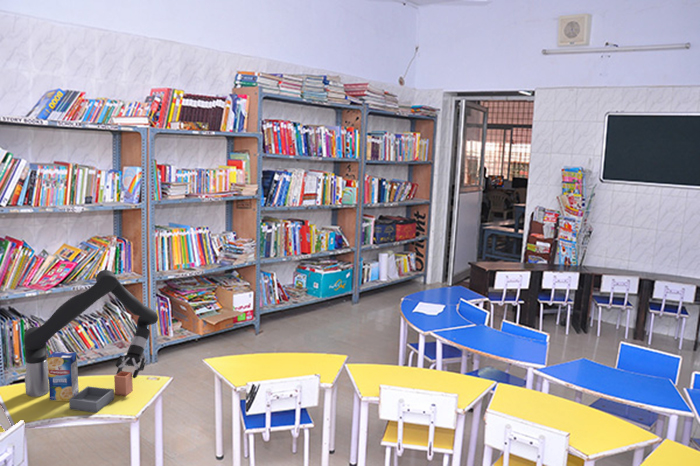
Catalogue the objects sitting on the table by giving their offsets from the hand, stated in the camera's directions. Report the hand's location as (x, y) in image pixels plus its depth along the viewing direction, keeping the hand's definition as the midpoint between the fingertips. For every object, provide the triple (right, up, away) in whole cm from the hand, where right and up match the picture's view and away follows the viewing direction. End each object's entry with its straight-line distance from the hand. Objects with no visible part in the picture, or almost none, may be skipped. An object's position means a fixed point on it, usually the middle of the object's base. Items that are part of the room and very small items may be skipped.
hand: (125, 376), depth 285 cm
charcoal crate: (-11, -10, -13) cm, 20 cm away
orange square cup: (-1, -8, -1) cm, 8 cm away
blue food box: (-27, -8, -8) cm, 29 cm away
